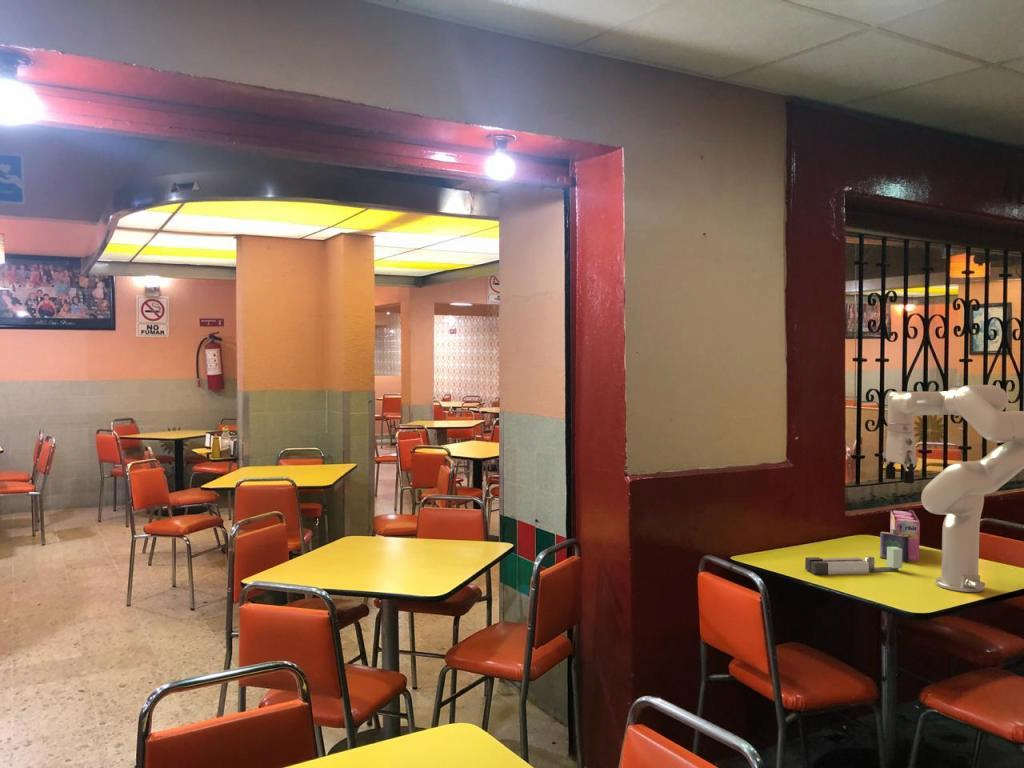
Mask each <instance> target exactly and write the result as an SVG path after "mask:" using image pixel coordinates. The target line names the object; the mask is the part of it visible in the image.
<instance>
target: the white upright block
mask: <svg viewBox="0 0 1024 768" xmlns="http://www.w3.org/2000/svg"><path fill="white" fill-rule="evenodd" d="M886 567H892V568H898V569H902V568H903V562H902V549H900V548H898V547H887V559H886Z"/></svg>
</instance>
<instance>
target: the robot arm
mask: <svg viewBox="0 0 1024 768" xmlns="http://www.w3.org/2000/svg"><path fill="white" fill-rule="evenodd" d="M1008 404H1009V396H1008V393H1007V392H1006V391H1005V390H1004V389H1003V388H1001V387H999V386H996V385H992V384H969V385H968V384H967V385H963V386H955V387H951V388H949V389H948V390H944V391H891V392H888V396H887V435H886V442H885V451H882V457H883V462H884V468H885V474H884V475H885V480H890V479H891V480H894V479H896V466H895V465H896V464H898V465H902V466H903V468H904V470H903V483H904V484H914V483H915V471H916V468H917V466H918V462H919V458H918V457H917V448H916V438H915V434H914V416H938V415H939V416H940V415H943V416H944V415H954V416H961V417H962V418H963V420H965V421H966V422H967V423H968V424H969V425H970V427H972V429H974V431H976V432H977V433H978V434H979V435H980V436H981V437H982V438H983V439H985V440H987V441H990V442H992V443H1003V444H1001V445H999V446H997V447H995V448H994V449H992V450H991V451H990V452H989V453H988V454H987V455H986V456H984V457H983V458H981V459H979V460H974V461H973V460H971V461H957V462H955V463H952V464H950V465H948V466H947V467H945V468H944V469H943V470H942V471H941V472H939V473H937V475H936V476H935V477H934V478H933V479H932V480H930V481H929V482H928V483H927V484H926V485H925V486H924V488H923V490H922V491H921V497H920V500H921V504H922V506H923V508H924V509H925V510H926V511H928V513H930V514H934V515H937V516H938V515H945V517H944V520H943V523H942V532H941V533H942V534H941V535H942V536H941V537H942V539H941V577H938V578H936V579H935V584H936V585H937V587H940V588H943V589H947V590H951V591H954V592H964V593H979V592H983V591H984V590H985V587H986V583H985V582H984V581H981V575H979V565H980V561H979V559H980V558H979V557H980V554H979V553H980V528H981V527H980V526H981V525H980V523H981V516H982V513H983V509H984V504H985V495H987V494H993V493H994V492H996V491H998V490H999V489H1000V488H1002V486H1004V485H1005V484H1006V483H1007V482H1009V481H1010V480H1011V479H1013V478H1014V477H1015V476H1016V475H1018V474H1019V473H1020V472H1021V471H1023V469H1024V410H1015V411H1013V410H1011V411H1010V410H1005V409H1006V408H1007V406H1008ZM1004 410H1005V411H1004Z"/></svg>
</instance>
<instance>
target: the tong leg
mask: <svg viewBox="0 0 1024 768" xmlns="http://www.w3.org/2000/svg"><path fill="white" fill-rule="evenodd" d="M804 560H805V562H804V564H805V566H804V570H806V571H808V572H810V568H811V561H825V562H834V561H864V558H861V557H859V556H858V557H856V556H855V557H825V558H824V557H821V558H820V557H819V556H817V557H815V556H814V557H812V556H811V557H809V556H808V557H805V558H804Z"/></svg>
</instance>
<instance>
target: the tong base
mask: <svg viewBox="0 0 1024 768" xmlns="http://www.w3.org/2000/svg"><path fill="white" fill-rule="evenodd" d="M898 571H899V568H892V567H890V566H878V567H875V557H874V556H864V560H863V561H834V562H825V561H811V568H810V571H809V572H810V574H812V575H814V576H829V575H831V576H832V575H863V574H864V575H865V574H866V575H867V574H870V573H875V572H898Z"/></svg>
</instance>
